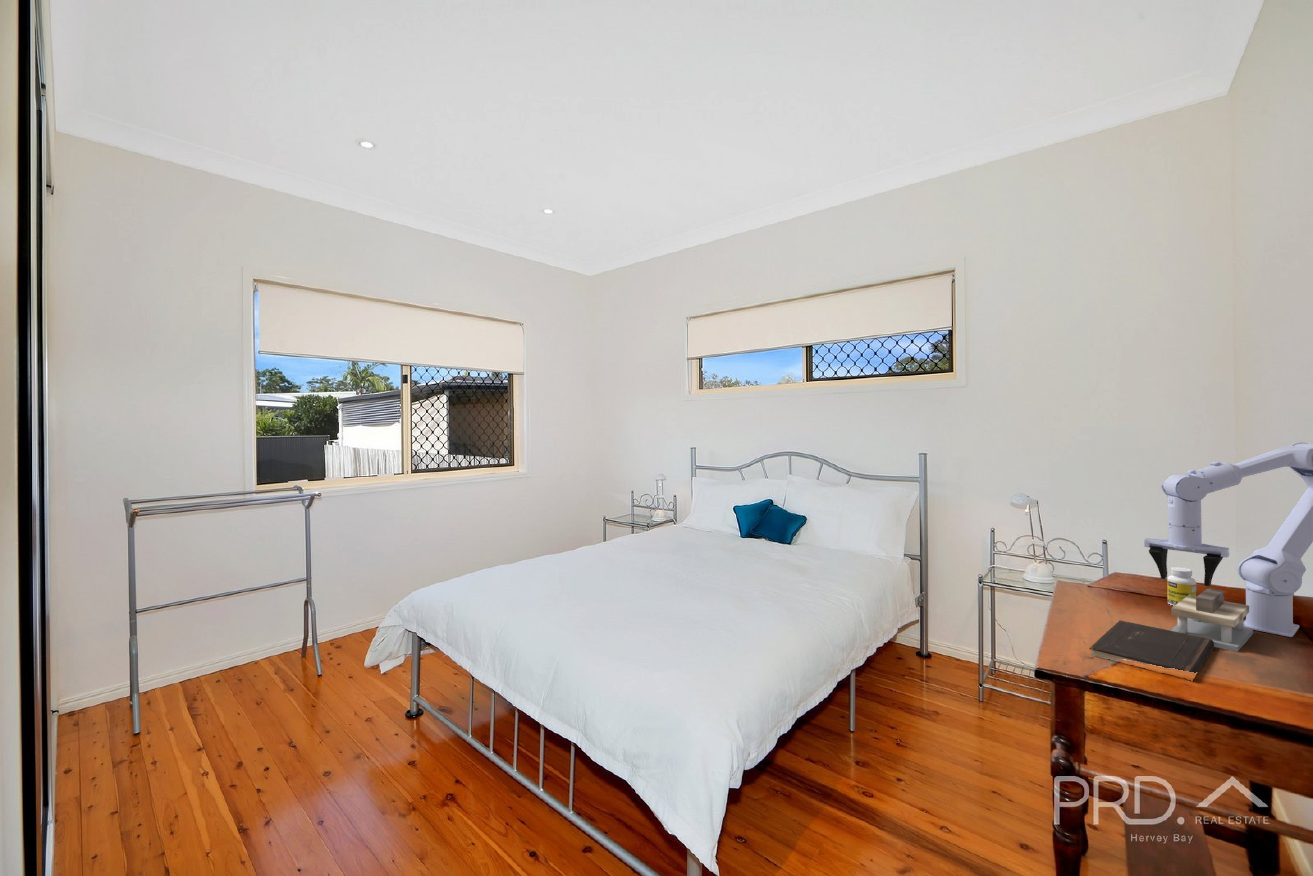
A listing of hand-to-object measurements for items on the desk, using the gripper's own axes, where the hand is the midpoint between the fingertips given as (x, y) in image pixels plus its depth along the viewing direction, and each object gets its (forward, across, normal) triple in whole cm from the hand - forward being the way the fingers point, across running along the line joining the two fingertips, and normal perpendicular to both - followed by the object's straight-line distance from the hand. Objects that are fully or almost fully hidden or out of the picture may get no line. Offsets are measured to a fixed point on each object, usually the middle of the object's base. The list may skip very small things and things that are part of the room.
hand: (1185, 581), depth 130 cm
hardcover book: (+11, 0, -24) cm, 26 cm away
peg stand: (+10, +5, -4) cm, 12 cm away
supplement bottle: (+11, -4, +15) cm, 19 cm away
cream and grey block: (+5, +5, -4) cm, 8 cm away
